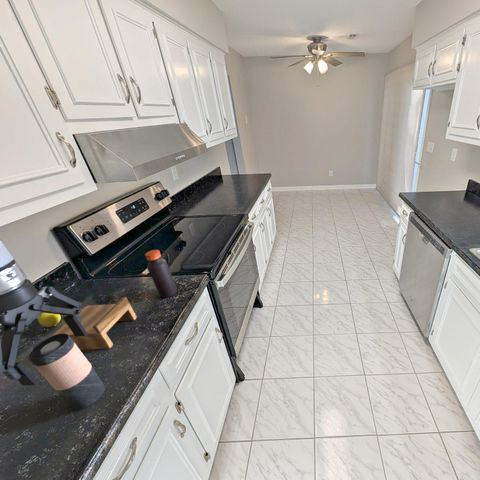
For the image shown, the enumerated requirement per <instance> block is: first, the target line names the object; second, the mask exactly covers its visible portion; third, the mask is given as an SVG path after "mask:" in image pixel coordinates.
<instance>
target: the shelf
mask: <svg viewBox="0 0 480 480" xmlns="http://www.w3.org/2000/svg"><path fill="white" fill-rule="evenodd" d="M78 315H79V317H80V319H81V320H82V322H81V325H82V326H83V328H84V329H85V331H86V332H87V333H88V334H87V335H86V336H75V335H74V334H73V332H72V331H71V329H70V328H69V327H68V325H67V324H66V323H65V324H63V325H62V326H61V327H60V328H59V329H58V330H56V331H55V332H54V333H53V334H52V335H51V336H53V335H57V334H62V333H65V334H68V335H69V336H70V337H71V339H72V340H73V341H74V343H75V344H76V345H77V347H78V348H79V349H80V351H82V350H83V351H84V350H101V349H102V350H103V349H104V350H105V349H111V348H112V347H113V346H114V343H113V342H112V340H111V339H110V337H109V335H108V334H107V333H108V332H109V330H110V329H111V328H112V327H113V326H115V324H116V323H117V322H129V321H135V320H137V314H136V313H135V311H134V309H133V307H132V305H131V303H130V301H129V300H128V298H127V296H123V297H121V298H120V299H119V300H118V301H117V302H116V303H110V304H93V305H86V306H85V307H83V308H82V309H81V310H80V313H79V314H78Z"/></svg>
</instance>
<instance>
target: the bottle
mask: <svg viewBox="0 0 480 480" xmlns="http://www.w3.org/2000/svg"><path fill="white" fill-rule="evenodd" d="M144 256H145V259H146V260H147V262H148V263H147V264H146V268H147V270H148V272H149V275H150V277H151V279H152V282H153V284H154V287H155V288H156V290H157V293H158V295H159V296H160V298H164V299H167V298H170V297H172V296H174V295H175V294H177V292H178V286H177V285H176V282H175V280H174V277H173V275H172V272H171V270H170V267H169V264H168V262H167V260H166V259H165V258H162V255H161V252H160V250H159V249H151V250H150V251H147V252H146V253H145V254H144Z"/></svg>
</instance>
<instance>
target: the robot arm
mask: <svg viewBox="0 0 480 480" xmlns="http://www.w3.org/2000/svg"><path fill="white" fill-rule="evenodd" d="M27 277H28V276H27V274H26V273H25V271H24V270H23V269H22V267H21V266H20V265H19V263H18V262H17V261H16V259H15V258H14V257H13V256H12V254H11V253H10V251H9V250H8V249H7V247H6V246H5V244H4V242H3V241H2V240H1V239H0V327H1V329H0V335H2V338H1V336H0V375H1V374H3V375H4V376H5V377H6V378H7V379H8V380H11V381H16V380H17V381H18V382H19V383H20V385H22V386H24V387H26V386H36V385H37V384H38V383H39V381H38V379H36V377H35V376H34V375H33V374H32V373H31V372H30V371H29V369H27V368H26V366H25V365H24V364H23V363H22V362H21V361H19V362H17V361H16V360H17V356H18V350H19V345H20V340H21V335H22V334H23V333H24V331H25V327H28V326H29V325H30V324H31V323H33V322H34V320H36V319H37V320H38V317H40V316H41V315H40V314H41V312H42V313H51V314H60V316H64V317H62V320H63V321H64V323H65V324H67V325H68V327H69V328H70V329H71V331H72V332H73V334H74V335H75V336H86V335H87V334H88V333H87V332H86V331H85V329H84V328H83V326H82V325H81V322H82V320H81V319H80V317H79V315H78V314H79V313H80V311H81V310H80V308H82V306H83V304H82V303H81V302H79V301H77V300H75V299H72V298H70V297H69V296H66V295H64V294H62V293H60V292H58V291H57V289H55V287H54V286H41V287H39V288H38V290H37V288H36V287H35V285H34V284H33V282H32V281H31V280H30V279H28V278H27ZM44 299H48V300H50V301H51V302H54V303H56V304H59V305H62V306H63V307H59V306H52V305H47V304H43V303H44ZM12 328H14V329H12Z"/></svg>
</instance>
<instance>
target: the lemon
mask: <svg viewBox="0 0 480 480" xmlns="http://www.w3.org/2000/svg"><path fill="white" fill-rule="evenodd" d="M40 315H41V316H40V317H38V318H37V321H38V323H39V325H41V326H43V327H47V328H51V327H56V326H57V325H58V324H59V323H60V321H61V317H62V315H60V314H51V313H42V312H41V314H40Z"/></svg>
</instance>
